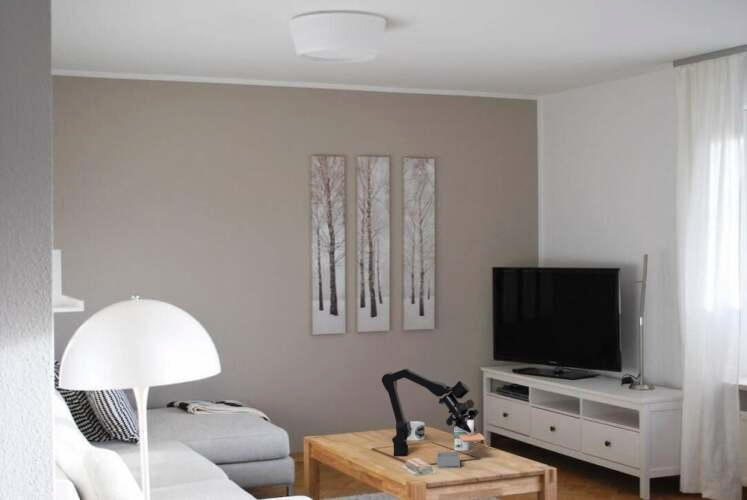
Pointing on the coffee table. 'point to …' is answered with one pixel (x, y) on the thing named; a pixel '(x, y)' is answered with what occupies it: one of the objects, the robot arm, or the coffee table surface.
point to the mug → (417, 431)
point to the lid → (471, 434)
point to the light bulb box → (458, 442)
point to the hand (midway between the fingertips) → (472, 431)
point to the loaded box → (448, 460)
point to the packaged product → (418, 467)
